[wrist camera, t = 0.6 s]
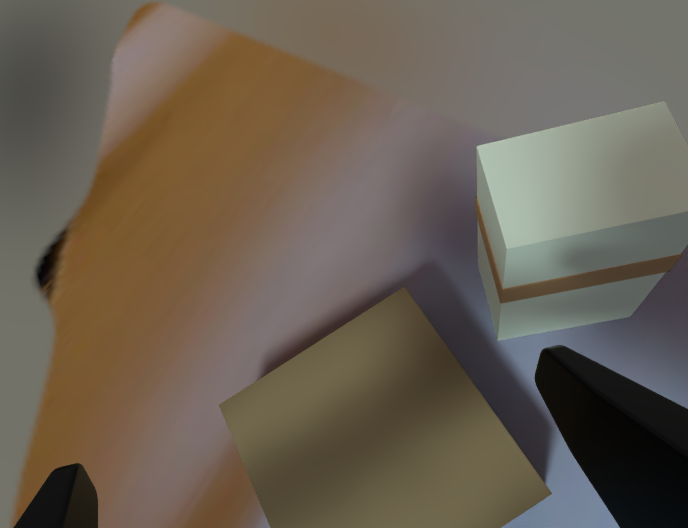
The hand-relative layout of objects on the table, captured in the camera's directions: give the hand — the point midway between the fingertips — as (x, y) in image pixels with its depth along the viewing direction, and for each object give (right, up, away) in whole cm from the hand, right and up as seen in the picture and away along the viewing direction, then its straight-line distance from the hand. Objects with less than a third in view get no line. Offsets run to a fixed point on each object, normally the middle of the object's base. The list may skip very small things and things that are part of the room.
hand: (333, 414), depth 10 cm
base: (+2, -6, +14) cm, 15 cm away
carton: (+10, +2, +15) cm, 18 cm away
